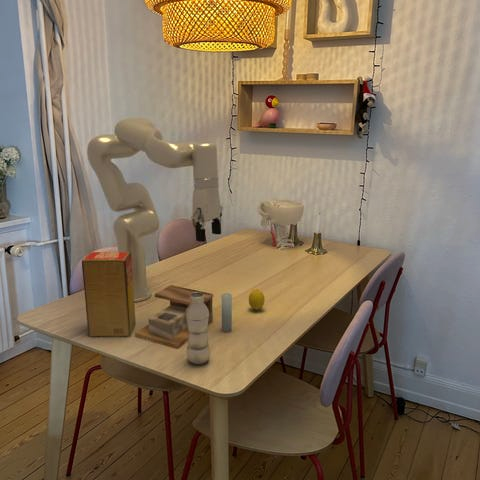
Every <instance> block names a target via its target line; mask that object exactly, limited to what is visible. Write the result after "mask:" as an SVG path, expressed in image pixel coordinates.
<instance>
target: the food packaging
mask: <svg viewBox="0 0 480 480" xmlns="http://www.w3.org/2000/svg"><path fill="white" fill-rule="evenodd" d="M81 270H82V271H81V272H82V281H83V290H84V300H85V309H86V322H87V325H86V326H87V333H88V337H89V338H98V337H97V336H101V338H104V337H103V336H108V337H107V338H111V337H110V336H114V338H124V337H123V336H130V337H131V336H132V334H133V332H134V329H135V326H136V309H135V302H134V291H133V274H132V258H131V252H118V251H90V252H89V253H87V254H86V256H84V258H83V259H82V260H81ZM115 336H116V337H115ZM117 336H118V337H117ZM120 336H122V337H120Z"/></svg>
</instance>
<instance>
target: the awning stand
mask: <svg viewBox="0 0 480 480" xmlns="http://www.w3.org/2000/svg"><path fill="white" fill-rule="evenodd" d="M194 292H200V293H203V294H204V302H203V303H204V304H205V305H206V307H207V308H208V310H209V319H208V326H209V325H211V324H212V323H213V322H214V321H213V318H214V317H213V298H214V294H213V293H210V292H205V291H200V290H195V289H191V288H188V287H187V288H185V287H182V286H178V285H177V286H176V285H173V284H169V286H166V287H165V288H162V290H159V291H157V292H156V293H154V297H155V298H157V299H162V300H166V301H169V305H168V306H167V307H165V308H164V309H162V310H160V311H159V312H157V313H156V314H154V315H152V316H151V317H150V318H148V324H147V325H146V326H144V327H142V328H141V329H139V330H137V331H136V332H135V333H134V337H135V336H136V338H138V337H140V338H139V339H142V338H144V339H143V340H146V339H148V340H147V341H149V340H151V341H150V342H153V341H154V343H156V342H157V343H156V344H160V343H161V344H160V345H163V344H164V345H165V346H168V347H171V348H175V349H180V348H181V347H182V346H184V345H185V344H186V343H188V326H187V320H186V314H185V312H186V309H187V307H188V306H189V305H190V303H191V302H190V294H191V293H194Z"/></svg>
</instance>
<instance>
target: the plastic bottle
mask: <svg viewBox="0 0 480 480" xmlns="http://www.w3.org/2000/svg"><path fill="white" fill-rule="evenodd" d="M190 302H191V303H190V305H189V306H188V307H187V309H186V312H185V314H186V320H187V326H188V341H187V346H186V357H187V359H188V361H189V362H190V363H191V364H193V365H203V364H206V363H207V362H208V361H209V359H210V358H211V350H210V349H211V348H210V345H209V337H208V334H209V333H208V328H209V325H208V319H209V310H208V308H207V307H206V305H205V304H204V303H203V302H204V294H203V293H200V292H194V293H191V294H190Z"/></svg>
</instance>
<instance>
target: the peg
mask: <svg viewBox="0 0 480 480" xmlns="http://www.w3.org/2000/svg"><path fill="white" fill-rule="evenodd" d="M220 297H221V332H223V333H231V332H232V328H233V326H232V325H233V321H232V320H233V319H232V318H233V317H232V316H233V313H232V312H233V311H232V310H233V307H232V304H233V298H232V297H233V295H232V294H231V293H227V292H226V293H222V294H221V296H220Z"/></svg>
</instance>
